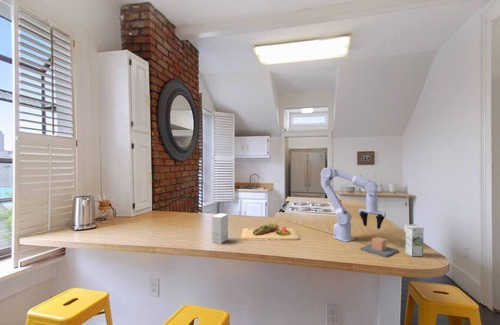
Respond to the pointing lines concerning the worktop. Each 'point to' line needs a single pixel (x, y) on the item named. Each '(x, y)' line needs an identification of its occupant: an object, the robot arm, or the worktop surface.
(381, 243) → the cube
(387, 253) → the mat
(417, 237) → the syrup box
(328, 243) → the worktop surface
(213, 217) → the skincare box
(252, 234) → the cutting board
